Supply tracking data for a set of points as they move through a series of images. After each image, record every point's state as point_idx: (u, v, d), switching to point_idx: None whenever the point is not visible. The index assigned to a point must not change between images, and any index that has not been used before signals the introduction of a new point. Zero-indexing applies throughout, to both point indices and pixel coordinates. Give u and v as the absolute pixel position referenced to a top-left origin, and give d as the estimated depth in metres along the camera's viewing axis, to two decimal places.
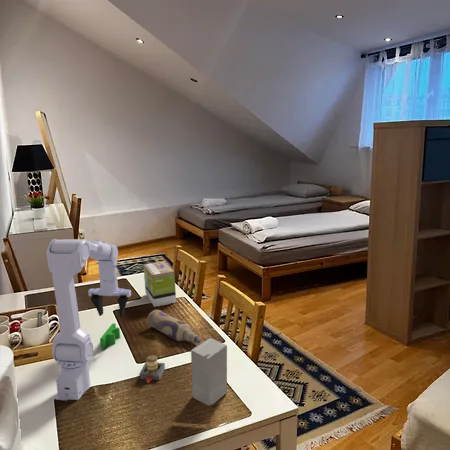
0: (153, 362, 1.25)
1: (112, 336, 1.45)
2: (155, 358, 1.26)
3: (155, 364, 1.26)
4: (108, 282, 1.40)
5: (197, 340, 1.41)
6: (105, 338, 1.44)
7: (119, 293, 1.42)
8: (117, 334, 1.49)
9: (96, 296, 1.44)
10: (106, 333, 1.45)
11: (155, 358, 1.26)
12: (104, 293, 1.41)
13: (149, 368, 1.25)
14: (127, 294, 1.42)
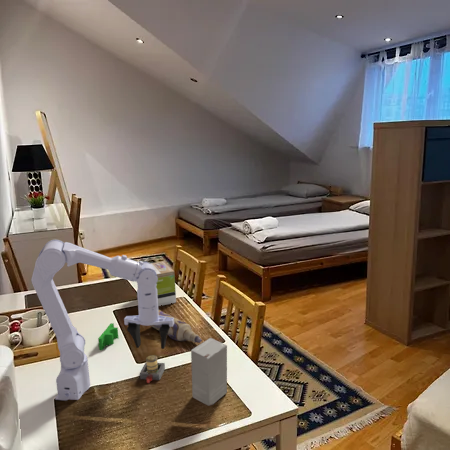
0: (153, 362, 1.25)
1: (110, 336, 1.45)
2: (155, 358, 1.26)
3: (155, 364, 1.26)
4: (149, 310, 1.20)
5: (198, 340, 1.42)
6: (103, 338, 1.44)
7: (161, 322, 1.21)
8: (115, 334, 1.49)
9: (133, 325, 1.23)
10: (104, 333, 1.45)
11: (155, 358, 1.26)
12: (143, 322, 1.21)
13: (149, 368, 1.25)
14: (170, 323, 1.22)
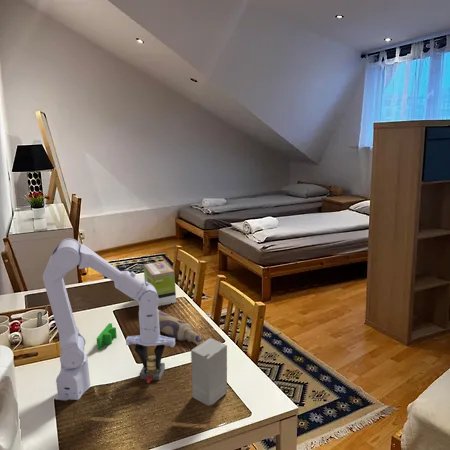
0: (153, 362, 1.25)
1: (108, 336, 1.45)
2: (155, 358, 1.26)
3: (155, 364, 1.26)
4: (150, 331, 1.21)
5: (199, 339, 1.42)
6: (101, 338, 1.44)
7: (162, 343, 1.23)
8: (114, 334, 1.49)
9: None
10: (102, 333, 1.45)
11: (155, 358, 1.26)
12: (145, 343, 1.22)
13: (149, 368, 1.25)
14: (171, 344, 1.23)
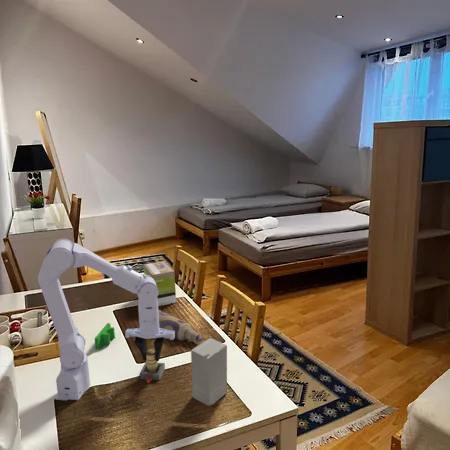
0: (153, 356, 1.25)
1: (107, 336, 1.45)
2: None
3: (155, 358, 1.25)
4: (150, 323, 1.21)
5: (199, 339, 1.42)
6: (99, 338, 1.44)
7: (162, 335, 1.22)
8: (112, 334, 1.49)
9: None
10: (101, 333, 1.46)
11: (154, 352, 1.26)
12: (144, 336, 1.22)
13: (149, 362, 1.25)
14: (171, 336, 1.23)
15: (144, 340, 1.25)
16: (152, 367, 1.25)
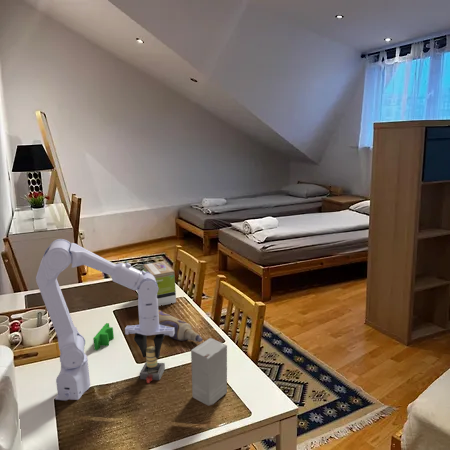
0: (152, 353, 1.24)
1: (105, 336, 1.45)
2: (154, 349, 1.25)
3: (154, 355, 1.25)
4: (149, 320, 1.20)
5: (199, 339, 1.42)
6: (98, 338, 1.44)
7: (161, 332, 1.22)
8: (110, 334, 1.49)
9: None
10: (99, 333, 1.46)
11: (154, 349, 1.25)
12: (144, 332, 1.21)
13: (148, 359, 1.25)
14: (171, 333, 1.22)
15: (144, 337, 1.25)
16: (152, 364, 1.25)
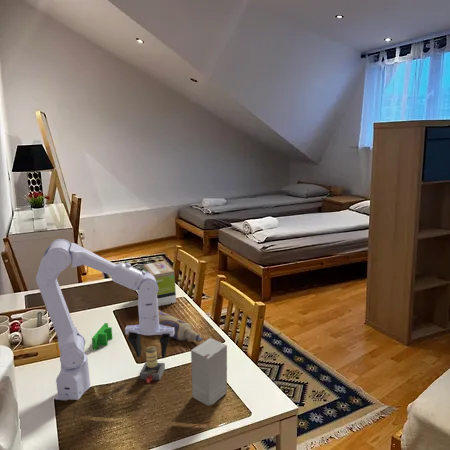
0: (152, 353, 1.24)
1: (104, 336, 1.45)
2: (154, 349, 1.25)
3: (154, 355, 1.25)
4: (149, 320, 1.20)
5: (199, 339, 1.42)
6: (97, 338, 1.44)
7: (161, 332, 1.22)
8: (109, 334, 1.49)
9: (134, 335, 1.24)
10: (98, 333, 1.46)
11: (154, 349, 1.25)
12: (144, 332, 1.21)
13: (148, 359, 1.25)
14: (171, 333, 1.22)
15: (138, 336, 1.25)
16: (152, 364, 1.25)
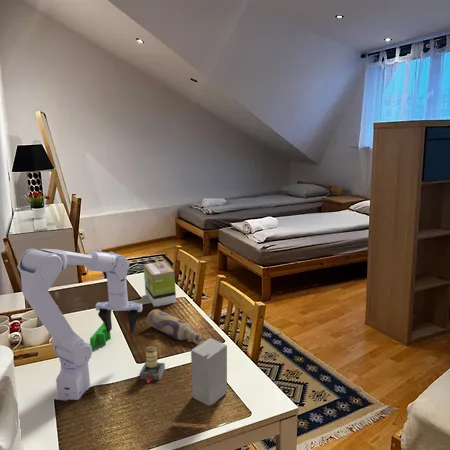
0: (152, 353, 1.24)
1: (102, 336, 1.45)
2: (154, 349, 1.25)
3: (154, 355, 1.25)
4: (118, 296, 1.28)
5: (199, 338, 1.42)
6: (95, 338, 1.44)
7: (129, 308, 1.30)
8: (107, 334, 1.49)
9: (104, 311, 1.32)
10: (96, 333, 1.46)
11: (154, 349, 1.25)
12: (113, 308, 1.29)
13: (148, 359, 1.25)
14: (138, 309, 1.30)
15: (108, 312, 1.33)
16: (152, 364, 1.25)
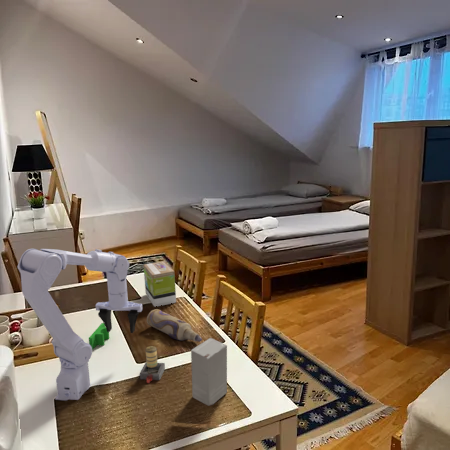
0: (152, 353, 1.24)
1: (101, 336, 1.45)
2: (154, 349, 1.25)
3: (154, 355, 1.25)
4: (118, 296, 1.28)
5: (198, 339, 1.42)
6: (94, 338, 1.44)
7: (129, 308, 1.30)
8: (106, 334, 1.50)
9: (104, 311, 1.32)
10: (95, 333, 1.46)
11: (154, 349, 1.25)
12: (113, 308, 1.29)
13: (148, 359, 1.25)
14: (138, 309, 1.30)
15: (108, 312, 1.33)
16: (152, 364, 1.25)
